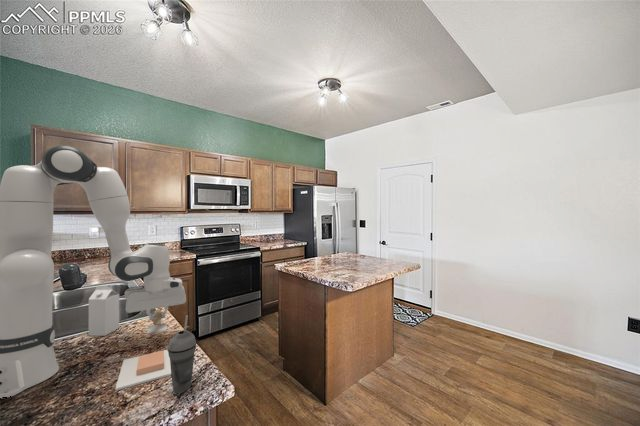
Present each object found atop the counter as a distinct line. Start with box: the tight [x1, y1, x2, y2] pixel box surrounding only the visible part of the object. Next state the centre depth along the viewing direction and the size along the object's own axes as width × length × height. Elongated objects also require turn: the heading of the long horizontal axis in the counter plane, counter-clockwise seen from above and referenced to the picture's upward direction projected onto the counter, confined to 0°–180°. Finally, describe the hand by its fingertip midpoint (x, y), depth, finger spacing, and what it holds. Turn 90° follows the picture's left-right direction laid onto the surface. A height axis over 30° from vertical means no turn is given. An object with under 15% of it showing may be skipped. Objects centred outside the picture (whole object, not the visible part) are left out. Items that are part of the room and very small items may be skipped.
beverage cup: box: [167, 315, 197, 393], centre depth 73 cm, size 7×7×20 cm
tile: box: [137, 349, 165, 375], centre depth 83 cm, size 7×2×9 cm
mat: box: [114, 349, 171, 391], centre depth 83 cm, size 14×17×1 cm
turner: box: [146, 309, 168, 336], centre depth 101 cm, size 6×17×3 cm, turn 31°
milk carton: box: [88, 286, 120, 337], centre depth 109 cm, size 7×7×19 cm
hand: (157, 318), depth 102 cm, fingers closed on turner, 2 cm apart
